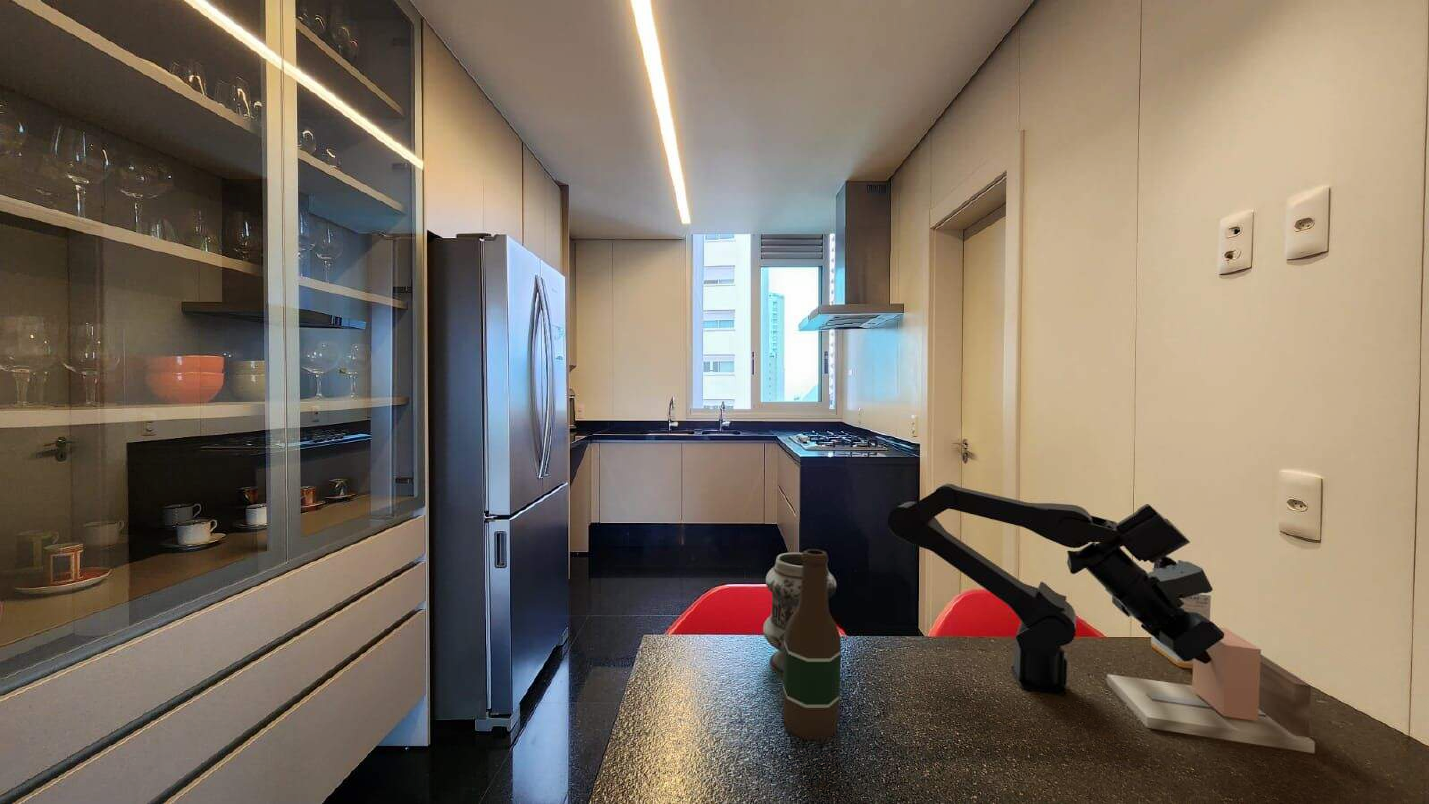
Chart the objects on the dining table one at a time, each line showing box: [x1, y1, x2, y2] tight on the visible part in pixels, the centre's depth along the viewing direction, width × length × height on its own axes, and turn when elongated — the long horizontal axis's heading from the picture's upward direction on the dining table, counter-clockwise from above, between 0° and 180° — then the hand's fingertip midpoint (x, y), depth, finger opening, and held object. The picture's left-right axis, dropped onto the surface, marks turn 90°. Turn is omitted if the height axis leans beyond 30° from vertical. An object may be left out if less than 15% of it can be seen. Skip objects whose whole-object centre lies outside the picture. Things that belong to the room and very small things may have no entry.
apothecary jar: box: [762, 552, 837, 677], centre depth 90 cm, size 12×12×18 cm
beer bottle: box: [781, 548, 842, 741], centre depth 73 cm, size 8×8×24 cm
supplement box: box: [1150, 593, 1212, 669], centre depth 96 cm, size 8×5×13 cm, turn 168°
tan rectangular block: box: [1191, 626, 1262, 721], centre depth 78 cm, size 4×7×10 cm, turn 166°
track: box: [1106, 654, 1316, 754], centre depth 79 cm, size 19×12×8 cm, turn 76°
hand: (1207, 661), depth 78 cm, fingers closed
